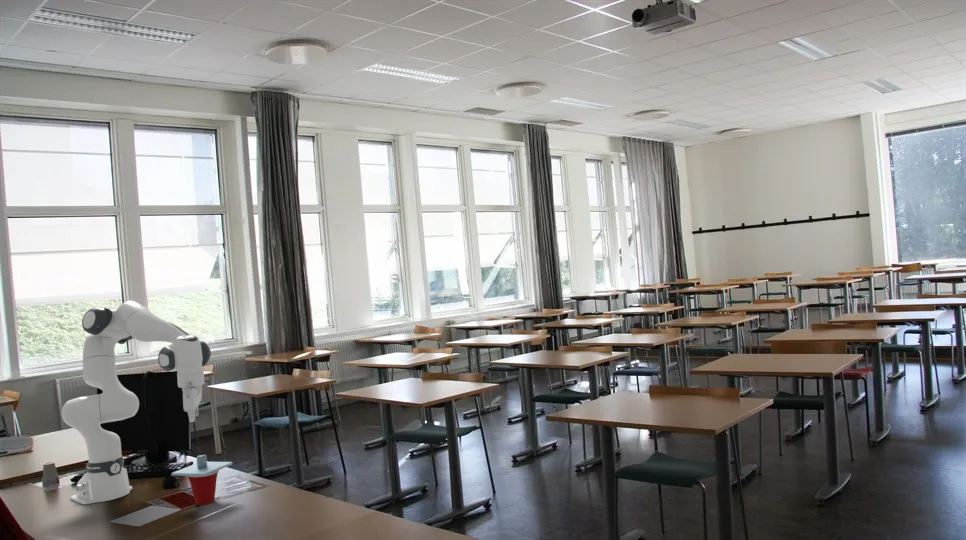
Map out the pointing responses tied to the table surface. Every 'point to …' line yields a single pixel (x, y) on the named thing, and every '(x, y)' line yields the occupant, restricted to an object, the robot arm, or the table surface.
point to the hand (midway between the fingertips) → (194, 418)
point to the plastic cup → (204, 488)
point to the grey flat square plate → (145, 515)
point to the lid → (201, 467)
